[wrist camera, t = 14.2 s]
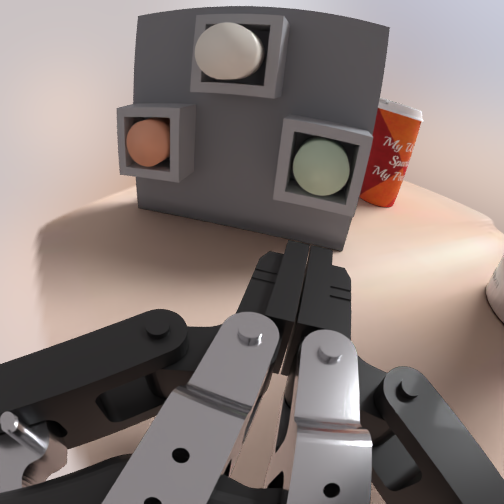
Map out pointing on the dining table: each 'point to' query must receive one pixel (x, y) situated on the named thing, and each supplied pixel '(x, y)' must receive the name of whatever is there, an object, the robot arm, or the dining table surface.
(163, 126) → the terracotta button
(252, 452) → the dining table surface
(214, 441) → the robot arm
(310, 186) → the sage button
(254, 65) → the cream button
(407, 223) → the dining table surface
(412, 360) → the dining table surface
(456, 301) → the dining table surface
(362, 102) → the button panel
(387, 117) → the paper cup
